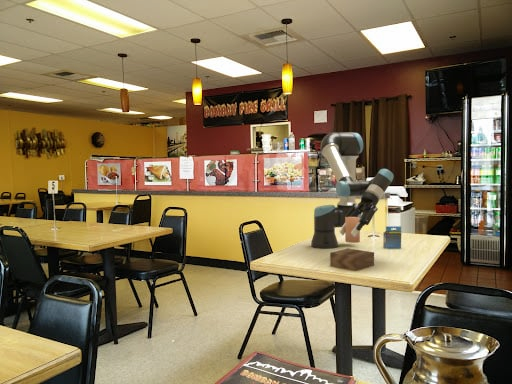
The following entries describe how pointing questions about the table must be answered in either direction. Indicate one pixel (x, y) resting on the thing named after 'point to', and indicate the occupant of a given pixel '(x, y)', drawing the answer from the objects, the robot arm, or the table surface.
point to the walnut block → (352, 259)
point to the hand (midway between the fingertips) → (346, 234)
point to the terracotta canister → (349, 226)
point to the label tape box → (392, 237)
